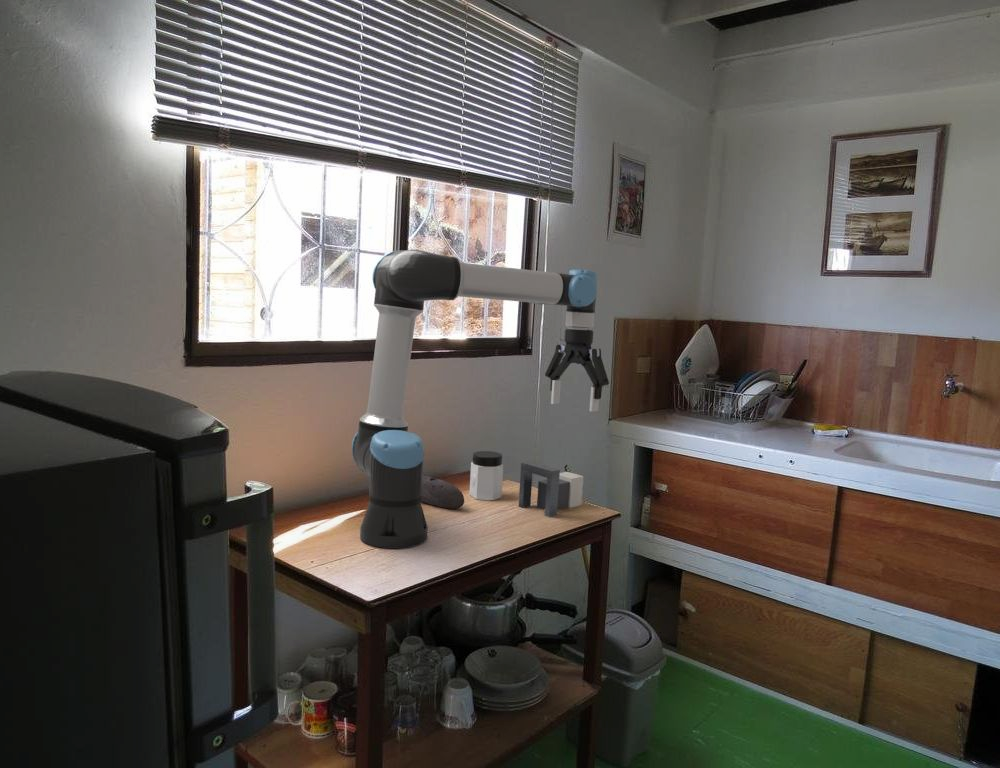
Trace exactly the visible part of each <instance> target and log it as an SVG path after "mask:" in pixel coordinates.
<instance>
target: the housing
mask: <svg viewBox="0 0 1000 768" xmlns="http://www.w3.org/2000/svg"><path fill="white" fill-rule="evenodd" d="M560 473H561V470H560V469H558V468H555V467H551V466H547V465H544V464H541V463H537V462H534V461H530V460H528V461H522V462H520V474H519V475H520V477H519V493H518V507H519V508H522V509H523V507H524V508H528V507H531V503H532V487H533V475H536V476H537V475H538V476H539V477H543V478H547V479H546V480H547V489H546V504H545V510H544V516H545V517H547V518H551V517H555V516H557V515H558V510H557V506H558V491H559V476H560ZM527 506H528V507H527Z"/></svg>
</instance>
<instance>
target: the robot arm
mask: <svg viewBox="0 0 1000 768" xmlns="http://www.w3.org/2000/svg"><path fill="white" fill-rule="evenodd" d="M371 277H372V283H373V284H372V285H373V287H374V289H375V293H374V300H373V301H374V302H373V306H374V307H375V308H376V310H377V311H378V320H377V328H376V337H375V347H374V353H373V362H372V369H371V376H370V377H371V378H370V387H369V394H368V403H367V410H366V412H365V414H363V415H362V416H361V417H359V422H358V430H357V432H356V433H355V435H354V436H353V439H352V442H351V450H350V451H351V454H352V457H353V461H354V462H355V464H356V466H357V467H358V468H359V469H360V471H362V472H363V473H365V474H366V475H367V476H368V477H369V496H368V498H369V499H368V501H369V502H368V506H367V507H366V510H365V514H364V517H363V520H362V523H361V524H360V528H359V538H360V540H361V541H362V542H363V543H365V544H367V545H368V546H369V545H370V546H373V547H378V548H382V549H383V548H384V549H404V548H411V547H417V546H418V545H421V544H423V543H424V542H426V541H427V539H428V536H429V535H428V533H429V527H428V524H427V520H426V516H425V513H424V509H423V506H422V501H421V497H422V478H423V476H424V475H423V473H424V458H425V449H424V442H423V439H422V438H421V437H420V436H419V435H417V434H416V433H414V432H408V429H409V423H408V422H407V421H406V419H405V417H404V411H405V402H406V396H407V387H408V381H409V380H408V379H409V371H410V363H411V357H412V350H413V349H412V347H413V341H414V334H415V325H416V319H417V317H418V316H419V315H421V314H422V313H423V312H424V306H425V305H424V303H425V301H439V300H441V301H442V300H443V301H455V300H456V299H457V298H458V297H461V298H473V299H485V300H499V301H510V302H523V303H529V304H536V305H547V306H548V305H550V306H551V305H552V306H564V307H565V306H566V314H565V315H566V316H565V323H564V324H565V327H567V328H566V329H565V330H564V342H565V344H556V346H555V349H554V354H553V357H552V358H551V361H550V363H549V364H548V367H547V370H546V372H545V377H547V378H549V379H550V387H549V388H550V392H551V397H550V398H551V399H550V404H551V405H557V404H560V402H561V387H562V386H561V385H562V380H561V376H562V375H563V374H564V372H565V371H567V368H568V367H570V365H571V364H577V365H578V364H579V365H581V366H582V367H583V368H584V370H585V371H586V374H587V375H588V377H589V380H590V381H591V384H592V386H591V387H590V399H589V409H588V411H589V412H591V413H592V412H598V411H599V403H600V400H601V399H602V391H603V387H604V386H608V385H609V384H610V382H609V378H608V375H607V372H606V371H607V370H606V369H605V368H606V367H605V365H604V362H603V359H602V350H601V348H592V344H593V343H594V331H593V330H592V329H594V328H595V327H594V326H595V313H596V312H595V310H596V300H597V294H598V293H597V292H598V275H597V272H596V271H594V270H592V269H590V270H588V269H570V270H569V273H559V272H558V273H557V272H552V271H550V272H549V271H543V270H542V271H541V270H533V269H532V270H531V269H522V268H516V267H515V268H514V267H513V268H512V267H506V266H505V267H503V266H497V265H494V266H493V265H487V264H480V263H479V264H477V263H470V262H469V263H467V262H462V261H461V260H460V259H459V258H458V257H456V256H455V257H454V256H447V255H442V254H441V255H440V254H436V253H432V252H429V251H425V250H420V249H407V250H405V249H404V250H393V251H390V252H389V253H386V254H384V255H383V256H382V257H381V258H379V260H378V261H377V262H376V264H375V266H374V267H373V271H372V276H371Z"/></svg>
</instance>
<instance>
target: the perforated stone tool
mask: <svg viewBox="0 0 1000 768" xmlns="http://www.w3.org/2000/svg"><path fill="white" fill-rule="evenodd" d="M421 502H423V503H425V504H428V505H430V506H431V505H432V506H436V507H440V508H445V509H449V510H453V509H454V510H456V509H457V510H458V509H461V507H463V506H464V505H465V496H464V494H463V492H462V491H461V490H460V489H459V488H458V487H457V486H455V485H454V484H451V483H450V482H448V481H445V480H442V479H440V478H437V477H432V476H429V475H423V478H422V497H421Z"/></svg>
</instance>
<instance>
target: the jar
mask: <svg viewBox="0 0 1000 768" xmlns="http://www.w3.org/2000/svg"><path fill="white" fill-rule="evenodd" d="M469 477H470V479H469V480H470V481H469V496H470V495H471V496H470V497H472V498H474V499H475V500H479V501H491V500H492V501H495V500H497V499H500V498H502V496H503V493H502V492H503V480H504V479H503V478H504V464H503V454H502V453H501V452H497V451H489V450H481V451H475V452H473V453H472V461H471V462H470V475H469Z"/></svg>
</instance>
